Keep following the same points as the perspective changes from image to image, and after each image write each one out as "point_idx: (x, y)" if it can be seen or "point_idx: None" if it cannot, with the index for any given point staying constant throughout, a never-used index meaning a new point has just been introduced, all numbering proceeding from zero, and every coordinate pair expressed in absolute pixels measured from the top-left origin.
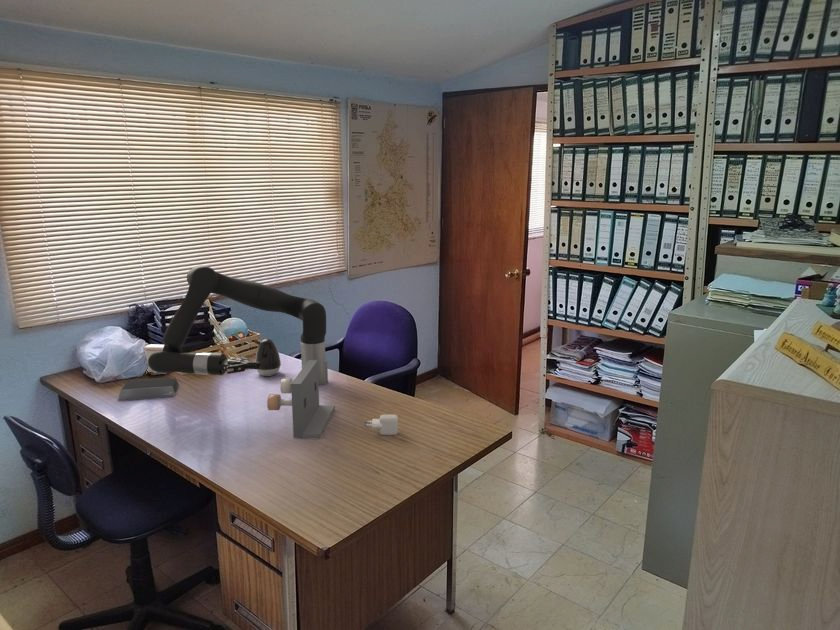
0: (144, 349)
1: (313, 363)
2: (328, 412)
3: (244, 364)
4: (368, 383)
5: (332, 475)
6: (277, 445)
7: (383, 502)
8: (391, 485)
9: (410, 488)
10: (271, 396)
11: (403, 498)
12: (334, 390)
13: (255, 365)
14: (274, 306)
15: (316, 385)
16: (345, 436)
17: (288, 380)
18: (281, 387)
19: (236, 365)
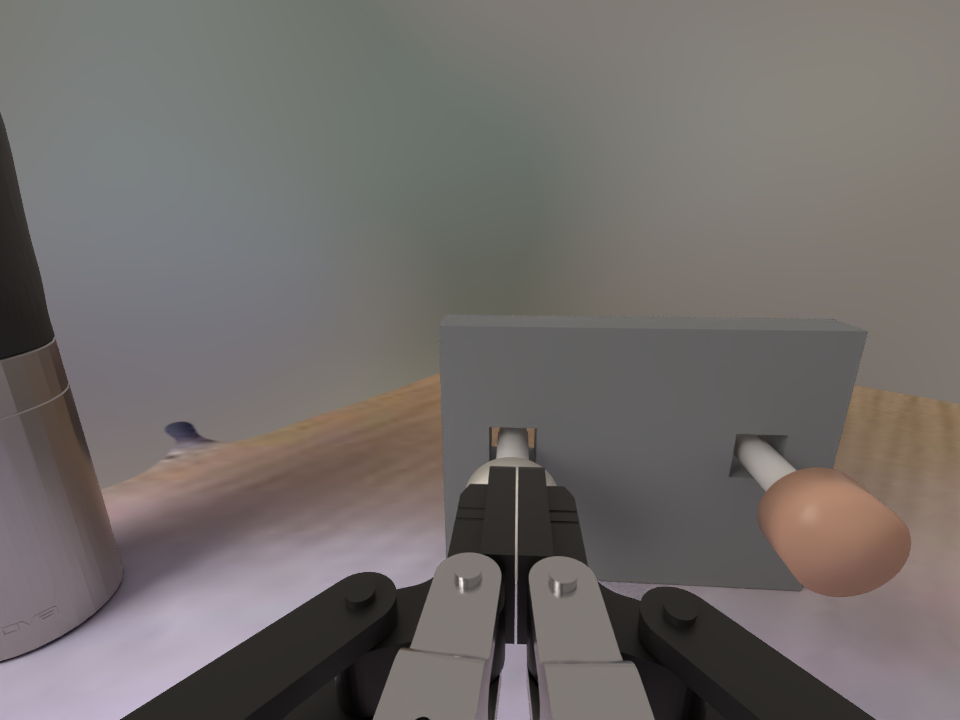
0: None
1: (500, 317)
2: None
3: (675, 591)
4: (217, 446)
5: (949, 470)
6: (930, 643)
7: (952, 409)
8: (874, 403)
9: (857, 389)
10: (868, 495)
11: (904, 394)
12: (230, 518)
13: (574, 508)
14: None
15: (491, 428)
16: None
17: (529, 466)
18: None
19: (868, 718)
